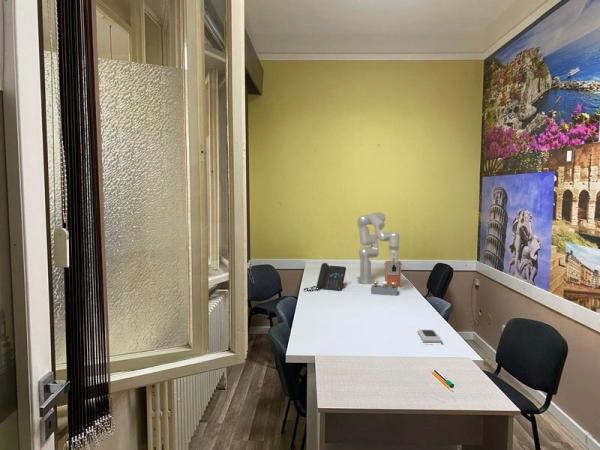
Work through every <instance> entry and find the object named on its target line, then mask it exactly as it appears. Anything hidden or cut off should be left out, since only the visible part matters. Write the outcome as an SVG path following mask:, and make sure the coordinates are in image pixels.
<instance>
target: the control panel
mask: <svg viewBox="0 0 600 450" xmlns="http://www.w3.org/2000/svg"><path fill="white" fill-rule="evenodd" d="M383 265H384V267H385V268H384V281H387V284H386V286H392V285H391V282H392V281H394V282H396V285H395V286H398V288H401V285H402V282H401V281H402V277H401V276H402V271H401V270H402V266H403V264H402V261H400V260H398V263H396V272H392V263H391V260H385V261H384V263H383Z"/></svg>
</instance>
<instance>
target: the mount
mask: <svg viewBox="0 0 600 450" xmlns="http://www.w3.org/2000/svg"><path fill="white" fill-rule="evenodd" d="M398 289H399V287H398V286H395V288H392V286H386V288H385V287H383V284H381V285H380V284H377V287H374V284H372V285H371V288H370V294H371V295H378V296H379V295H382V296H398V292H399V291H398Z"/></svg>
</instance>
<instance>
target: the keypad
mask: <svg viewBox="0 0 600 450" xmlns="http://www.w3.org/2000/svg"><path fill="white" fill-rule="evenodd" d="M417 333H418V334H417V336H418V335H419V336H420V338H421V339H420V338H419V339H420V341H421V340H422V341H423V342H422V341H421V342H422V344H423V343H442V344H443V340H442V339H441V337H440V336H439V335H438V333H437V332H436V331H435V329H421V328H420V329H418V330H417ZM419 336H418V337H419Z"/></svg>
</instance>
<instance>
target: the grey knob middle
mask: <svg viewBox="0 0 600 450" xmlns="http://www.w3.org/2000/svg"><path fill="white" fill-rule="evenodd" d="M386 284H387V281H385V280H382V281H381V285H383V287H385V288H386Z"/></svg>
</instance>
